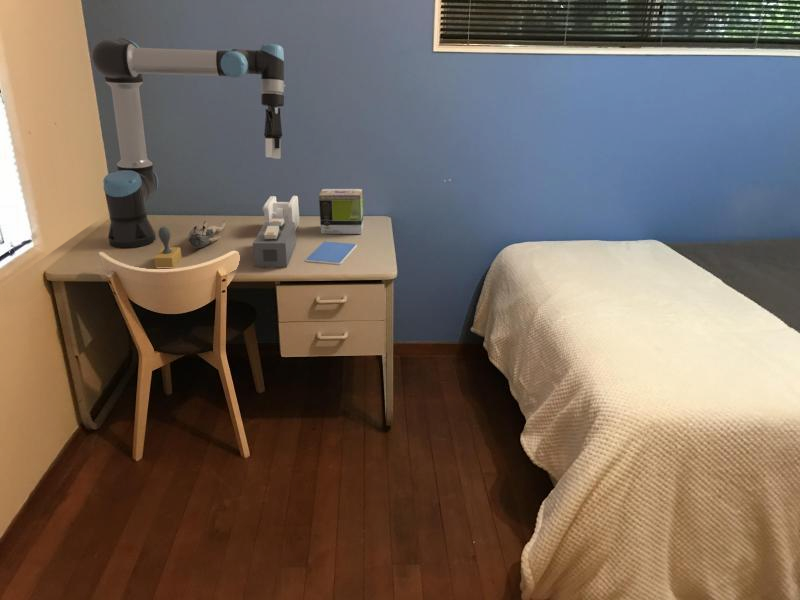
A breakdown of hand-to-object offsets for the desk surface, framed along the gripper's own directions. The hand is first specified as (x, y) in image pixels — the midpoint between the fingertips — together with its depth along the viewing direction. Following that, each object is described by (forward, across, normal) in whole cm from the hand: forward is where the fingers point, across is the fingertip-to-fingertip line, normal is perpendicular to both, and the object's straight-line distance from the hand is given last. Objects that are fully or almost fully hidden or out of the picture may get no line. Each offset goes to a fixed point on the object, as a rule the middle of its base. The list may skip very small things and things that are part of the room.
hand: (272, 158), depth 213 cm
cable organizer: (+26, +6, -5) cm, 27 cm away
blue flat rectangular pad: (+30, -23, -15) cm, 41 cm away
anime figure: (+30, +4, +23) cm, 37 cm away
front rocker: (+23, -25, +5) cm, 34 cm away
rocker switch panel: (+31, -19, +2) cm, 36 cm away
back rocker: (+21, -16, +1) cm, 26 cm away
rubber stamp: (+34, -14, +36) cm, 51 cm away
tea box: (+25, -1, -25) cm, 36 cm away
